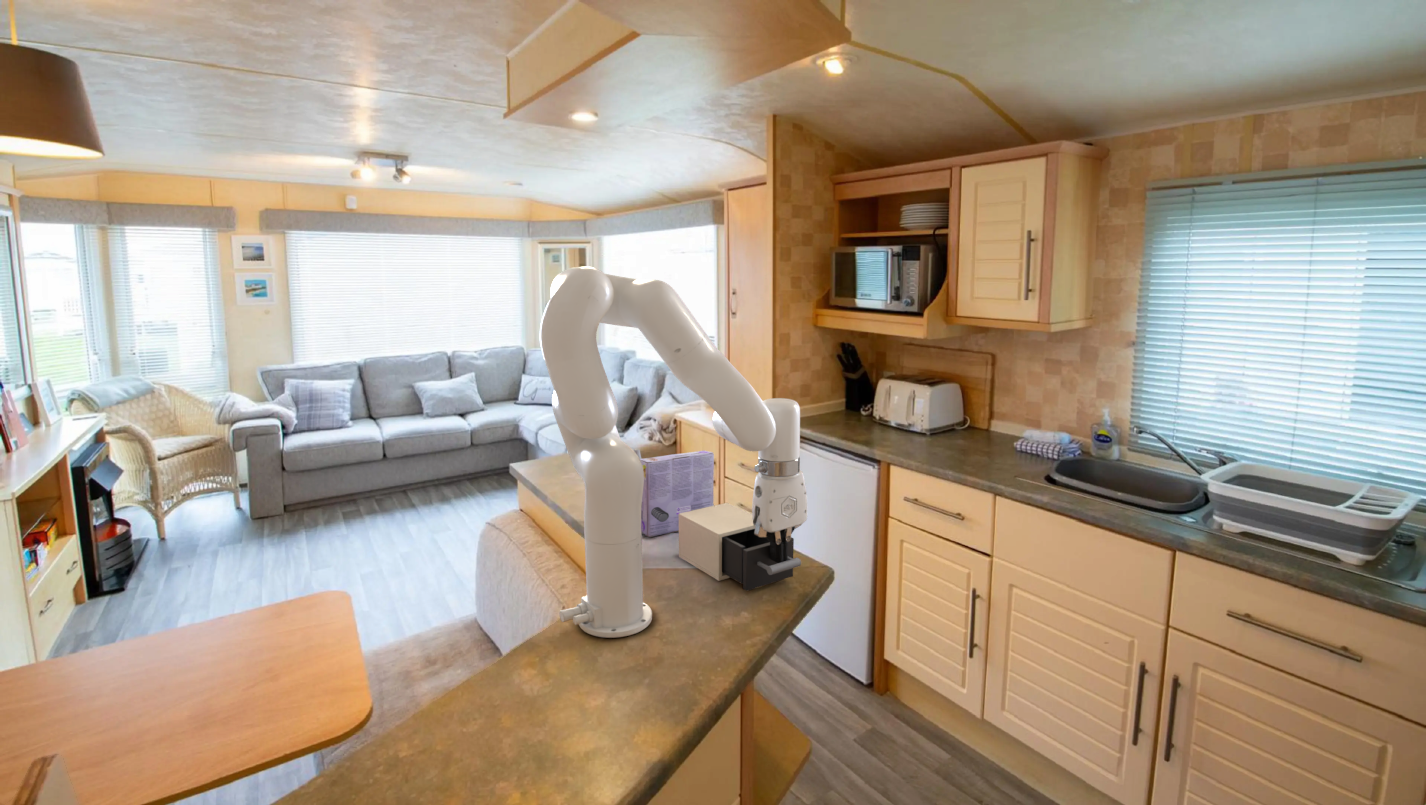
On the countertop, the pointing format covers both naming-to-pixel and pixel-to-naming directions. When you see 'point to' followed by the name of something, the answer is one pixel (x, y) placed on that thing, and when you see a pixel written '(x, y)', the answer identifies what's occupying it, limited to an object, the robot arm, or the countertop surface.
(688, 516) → the cream drawer cabinet
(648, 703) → the countertop surface
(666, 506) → the cake pan box
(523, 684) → the countertop surface
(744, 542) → the black drawer
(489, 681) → the countertop surface
